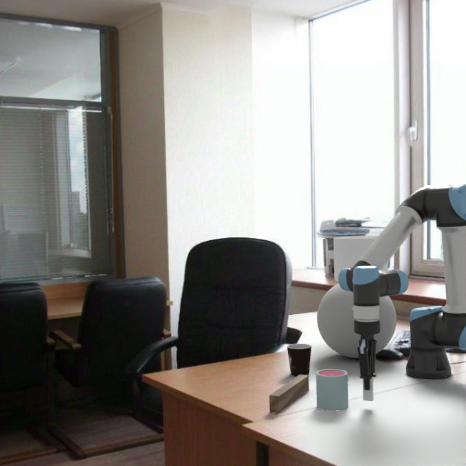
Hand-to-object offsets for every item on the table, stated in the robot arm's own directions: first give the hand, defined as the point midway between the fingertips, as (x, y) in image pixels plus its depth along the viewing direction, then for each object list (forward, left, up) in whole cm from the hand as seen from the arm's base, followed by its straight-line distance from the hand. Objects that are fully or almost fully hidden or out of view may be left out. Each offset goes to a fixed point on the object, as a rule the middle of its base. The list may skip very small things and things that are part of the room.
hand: (368, 400), depth 208 cm
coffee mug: (+33, -33, -2) cm, 47 cm away
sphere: (+21, -64, -2) cm, 67 cm away
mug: (+10, 0, -3) cm, 10 cm away
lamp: (+28, -98, -2) cm, 102 cm away
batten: (+24, +1, -2) cm, 24 cm away
